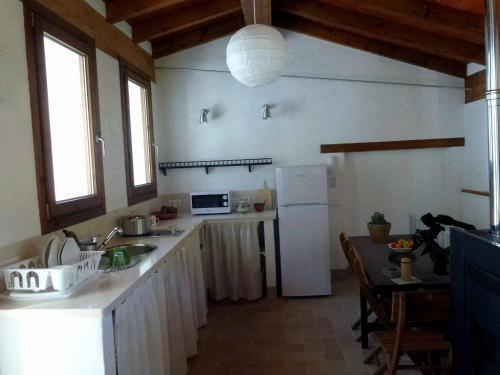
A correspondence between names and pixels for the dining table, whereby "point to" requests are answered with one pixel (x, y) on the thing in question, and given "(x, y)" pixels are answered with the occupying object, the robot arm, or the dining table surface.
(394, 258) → the microphone
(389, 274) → the clamp block
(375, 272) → the dining table surface
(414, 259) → the dining table surface
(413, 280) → the pad
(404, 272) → the tan upright cylinder
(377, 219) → the potted plant
